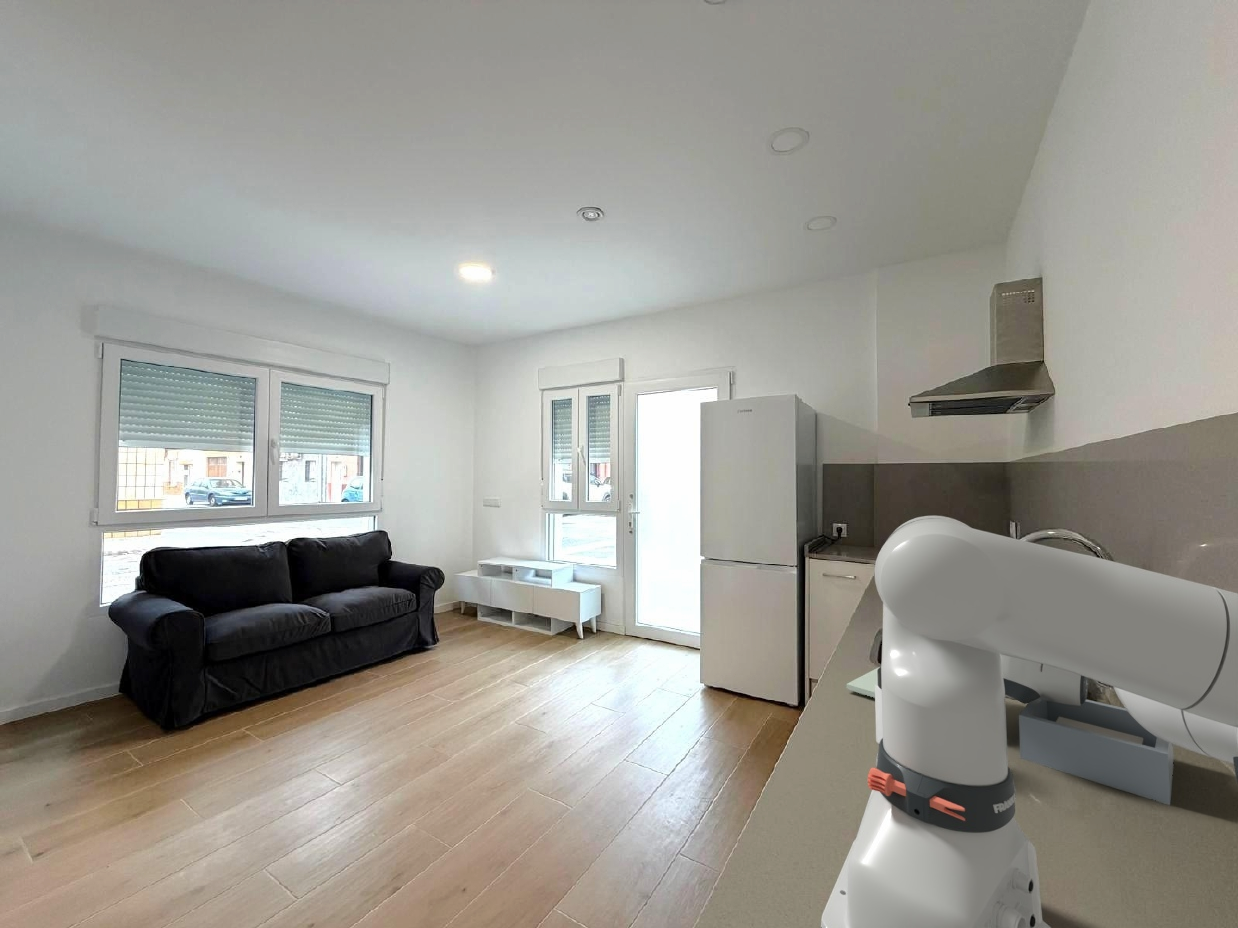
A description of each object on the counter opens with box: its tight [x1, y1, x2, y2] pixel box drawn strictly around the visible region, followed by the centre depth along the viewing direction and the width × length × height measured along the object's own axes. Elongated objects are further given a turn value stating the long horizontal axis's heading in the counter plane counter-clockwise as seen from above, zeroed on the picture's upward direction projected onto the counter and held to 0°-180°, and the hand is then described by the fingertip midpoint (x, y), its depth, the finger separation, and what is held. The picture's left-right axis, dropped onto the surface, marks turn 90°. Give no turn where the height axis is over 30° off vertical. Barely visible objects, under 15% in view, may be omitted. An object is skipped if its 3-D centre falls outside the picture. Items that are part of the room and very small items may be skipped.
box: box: [1018, 698, 1174, 806], centre depth 80 cm, size 16×16×7 cm
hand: (899, 637), depth 106 cm, fingers open, 8 cm apart
